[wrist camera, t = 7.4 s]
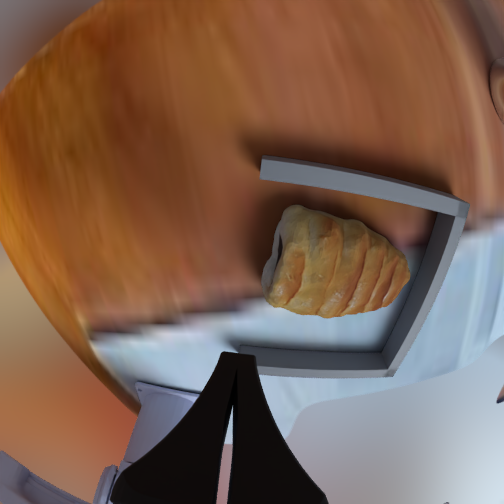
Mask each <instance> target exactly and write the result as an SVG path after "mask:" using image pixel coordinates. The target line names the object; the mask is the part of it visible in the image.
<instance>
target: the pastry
mask: <svg viewBox="0 0 504 504" xmlns="http://www.w3.org/2000/svg"><path fill="white" fill-rule="evenodd" d="M409 279H410V270H409V268H408V264H407V260H406V257H405V255H404V254H403V253H402V252H401V251H399V250H398V249H396V248H395V247H394V246H392V245H391V244H390V243H389V242H388V240H387V239H386V238H385V237H383V236H381V235H380V234H378V233H375V232H373V231H372V230H370V229H369V228H367V227H366V226H365V225H364V224H363V223H362V222H360V221H358V220H355V219H348V220H345V219H341V218H338V217H335V216H333V215H331V214H328V213H326V212H322V211H316V210H311V209H307V208H305V207H303V206H302V205H291V206H289V207H288V208H286V209H285V210H284V212H283V215H282V218H281V221H280V222H279V223H278V226H277V228H276V232H275V234H274V243H273V249H272V256H271V257H270V259H269V260H268V261H267V263H266V264H265V266H264V269H263V275H262V277H261V285H262V289H263V293H264V296H265V299H266V301H267V302H268V303H269V304H270V305H272V306H273V307H275V308H277V307H281V308H284V309H287V310H289V311H291V312H294V313H296V314H300V315H318V316H321V317H323V318H332V317H342V316H344V315H346V314H357V313H365V312H368V311H375V310H377V309H379V308H381V307H387V306H388V305H389V304H391V303H392V302H393V301H394V300H395V298H396V297H397V296H398V294H399V293H400V291H401V289H402V288H403V286H404V285H405V284H406V283H407V282H408V281H409Z"/></svg>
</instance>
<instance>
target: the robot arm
mask: <svg viewBox="0 0 504 504" xmlns="http://www.w3.org/2000/svg"><path fill="white" fill-rule="evenodd" d="M135 388H136V391H137V394H138V397H139V400H140V403H141V405H142V407H141V409H140V412H139V415H138V418H137V421H136V423H135V426H134V429H133V432H132V435H131V438H130V441H129V444H128V447H127V450H126V453H125V456H124V459H123V461H121V463H120V466H119V469H118V466H115V465H111V466H108V467H105V469H104V471H103V473H102V475H101V478H100V480H99V483H98V487H97V489H96V493H95V496H94V500H93V504H216V500H217V492H218V483H219V474H220V466H221V458H222V451H223V446H224V442H225V437H226V433H227V428H228V424H229V419H230V415H231V410H232V406H233V451H232V464H231V473H230V481H229V491H228V501H227V504H328V501H327V498H326V495H325V494H324V493H323V491H322V490H321V489H320V488H319V487H318V486H317V485H316V484H315V483H314V481H313V480H312V479H311V478H310V477H309V475H308V474H307V473H306V472H305V470H304V469H303V468H302V466H301V465H300V464H299V462H298V461H297V459H296V458H295V456H294V455H293V453H292V452H291V450H290V449H289V447H288V445H287V443H286V442H285V440H284V438H283V436H282V435H281V433H280V431H279V429H278V427H277V425H276V423H275V420H274V418H273V416H272V414H271V411H270V409H269V406H268V404H267V401H266V398H265V395H264V392H263V389H262V386H261V382H260V378H259V374H258V369H257V362H256V357H255V356H254V355H250V354H241V353H233V352H225V351H224V352H222V353H221V355H220V358H219V360H218V363H217V365H216V367H215V369H214V371H213V373H212V375H211V377H210V379H209V381H208V382H207V384H206V386H205V387H204V389H203V391H202V392H201V394H194V393H189V392H183V391H178V390H173V389H168V388H163V387H159V386H154V385H150V384H146V383H142V382H136V383H135ZM117 469H118V470H117ZM0 501H1V502H2V503H3V504H90V503H88V502H85V501H84V500H81V499H79V498H77V497H75V496H73V495H71V494H69V493H67V492H65V491H63V490H61V489H59V488H57V487H56V486H54V485H52V484H50V483H49V482H47V481H45V480H43V479H42V478H40V477H38V476H37V475H35V474H33V473H32V472H30V471H29V470H28V469H27V468H26V467H25V466H23V465H22V464H20V463H19V462H18V461H16V460H15V459H13V458H12V457H11V456H9V455H8V454H6V453H5V452H4V451H0ZM444 504H449V503H448V502H446V503H444Z"/></svg>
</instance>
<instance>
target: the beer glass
mask: <svg viewBox="0 0 504 504" xmlns="http://www.w3.org/2000/svg"><path fill="white" fill-rule="evenodd" d="M490 90H491V95H492V99H493V103H494V106H495V108H496V111H497V113H498V115H499V117H500V119H501V120H502V122H503V123H504V58H499V59H497V60H496V61H495V62H494V63H493V65H492V67H491V71H490Z"/></svg>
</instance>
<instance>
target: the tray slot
mask: <svg viewBox="0 0 504 504" xmlns="http://www.w3.org/2000/svg"><path fill="white" fill-rule="evenodd" d="M260 179H263V180H271V181H279V182H286V183H293V184H300V185H307V186H314V187H320V188H326V189H332V190H338V191H344V192H349V193H355V194H360V195H365V196H371V197H376V198H380V199H385V200H390V201H395V202H399V203H404V204H408V205H413V206H417V207H421V208H425V209H429V210H433V211H437V212H438V214H437V218H436V221H435V224H434V228H433V231H432V234H431V237H430V240H429V243H428V246H427V249H426V252H425V255H424V258H423V261H422V263H421V266H420V269H419V271H418V274H417V276H416V279H415V281H414V284H413V286H412V289H411V291H410V294H409V296H408V298H407V301H406V303H405V305H404V307H403V310H402V312H401V314H400V316H399V318H398V321H397V323H396V325H395V327H394V329H393V331H392V333H391V335H390V337H389V339H388V341H387V343H386V345H385V347H384V349H383V350H382V352H381V353H350V352H320V351H302V350H287V349H275V348H264V347H254V346H245V345H240V351H239V353H241V354H250V355H254V356H255V357H256V362H257V369H258V374H259V375H271V376H284V377H303V378H378V377H393V376H394V374H395V372H396V371H397V369H398V368H399V366H400V364H401V363H402V361H403V360H404V358H405V356H406V355H407V353H408V351H409V349H410V348H411V346H412V344H413V342H414V341H415V339H416V337H417V335H418V333H419V331H420V330H421V328H422V326H423V324H424V322H425V320H426V318H427V316H428V314H429V312H430V310H431V308H432V306H433V304H434V302H435V299H436V297H437V295H438V293H439V291H440V288H441V286H442V284H443V281H444V279H445V277H446V274H447V272H448V269H449V267H450V264H451V262H452V259H453V256H454V254H455V251H456V248H457V245H458V243H459V240H460V237H461V234H462V231H463V227H464V224H465V221H466V218H467V214H468V211H469V207H470V204H469V203H467V202H465V201H463V200H462V199H460V198H458V197H456V196H454V195H451V194H448V193H445V192H442V191H438V190H435V189H432V188H428V187H424V186H421V185H417V184H414V183H410V182H406V181H402V180H398V179H394V178H390V177H386V176H382V175H377V174H373V173H368V172H364V171H359V170H354V169H349V168H344V167H339V166H333V165H328V164H322V163H316V162H310V161H304V160H297V159H291V158H283V157H276V156H268V155H262V163H261V171H260Z"/></svg>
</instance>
